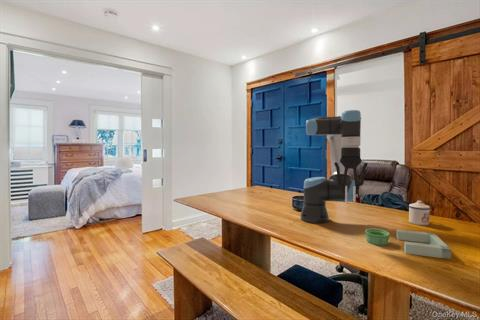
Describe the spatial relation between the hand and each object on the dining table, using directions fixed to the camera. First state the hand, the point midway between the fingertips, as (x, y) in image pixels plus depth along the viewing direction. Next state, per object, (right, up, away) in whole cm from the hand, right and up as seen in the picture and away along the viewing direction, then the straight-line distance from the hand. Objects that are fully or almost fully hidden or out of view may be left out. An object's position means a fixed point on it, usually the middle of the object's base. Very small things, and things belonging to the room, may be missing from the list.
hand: (350, 201), depth 108 cm
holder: (+24, -17, -9) cm, 30 cm away
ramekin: (+10, -17, -3) cm, 20 cm away
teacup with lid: (+47, -15, +23) cm, 54 cm away
